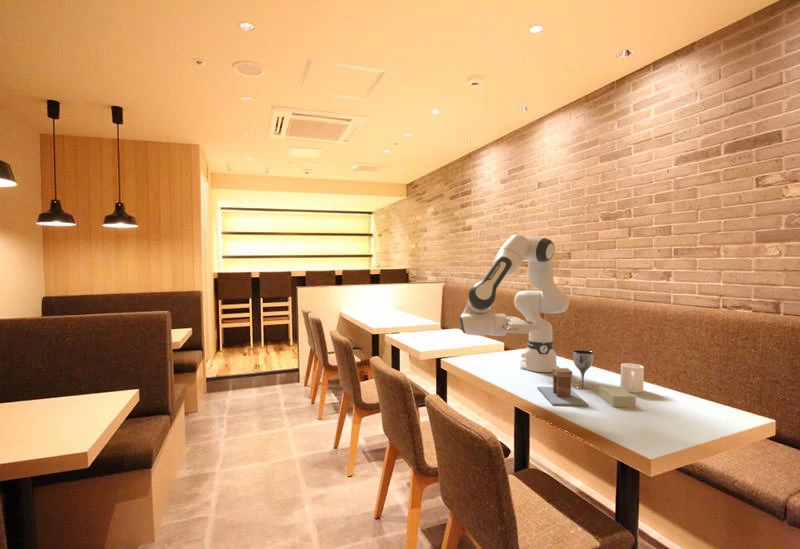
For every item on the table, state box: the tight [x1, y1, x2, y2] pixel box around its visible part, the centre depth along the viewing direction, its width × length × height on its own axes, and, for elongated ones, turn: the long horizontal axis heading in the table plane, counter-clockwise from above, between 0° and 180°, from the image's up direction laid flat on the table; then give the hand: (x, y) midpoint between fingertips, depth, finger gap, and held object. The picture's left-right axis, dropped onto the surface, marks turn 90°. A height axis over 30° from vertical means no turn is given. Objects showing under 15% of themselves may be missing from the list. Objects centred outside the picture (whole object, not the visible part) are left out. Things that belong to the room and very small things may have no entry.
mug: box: [619, 362, 645, 394], centre depth 166 cm, size 12×8×10 cm
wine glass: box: [572, 349, 594, 390], centre depth 172 cm, size 8×8×15 cm
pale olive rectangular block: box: [598, 385, 637, 408], centre depth 154 cm, size 12×8×4 cm, turn 176°
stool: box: [551, 367, 573, 397], centre depth 159 cm, size 6×11×11 cm
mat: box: [537, 386, 589, 407], centre depth 159 cm, size 20×13×1 cm, turn 176°
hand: (535, 325), depth 161 cm, fingers open, 8 cm apart
